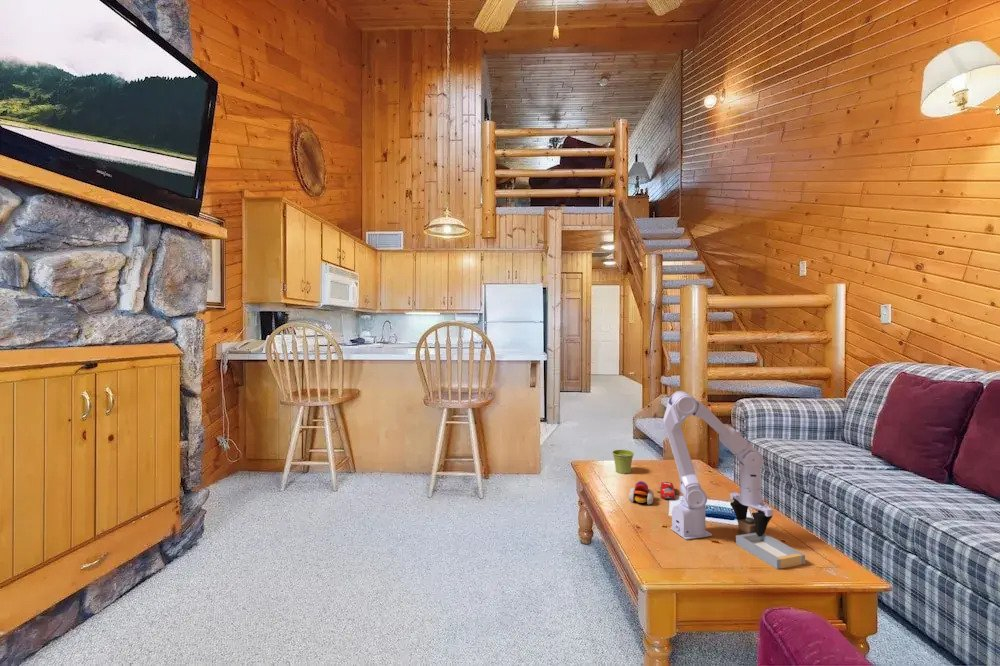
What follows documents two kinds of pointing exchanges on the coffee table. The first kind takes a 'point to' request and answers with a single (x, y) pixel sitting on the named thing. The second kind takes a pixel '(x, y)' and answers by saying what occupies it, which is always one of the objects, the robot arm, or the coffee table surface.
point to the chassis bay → (770, 550)
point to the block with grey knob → (746, 526)
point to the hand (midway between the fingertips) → (751, 530)
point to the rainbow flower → (641, 493)
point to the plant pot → (623, 460)
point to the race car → (667, 490)
